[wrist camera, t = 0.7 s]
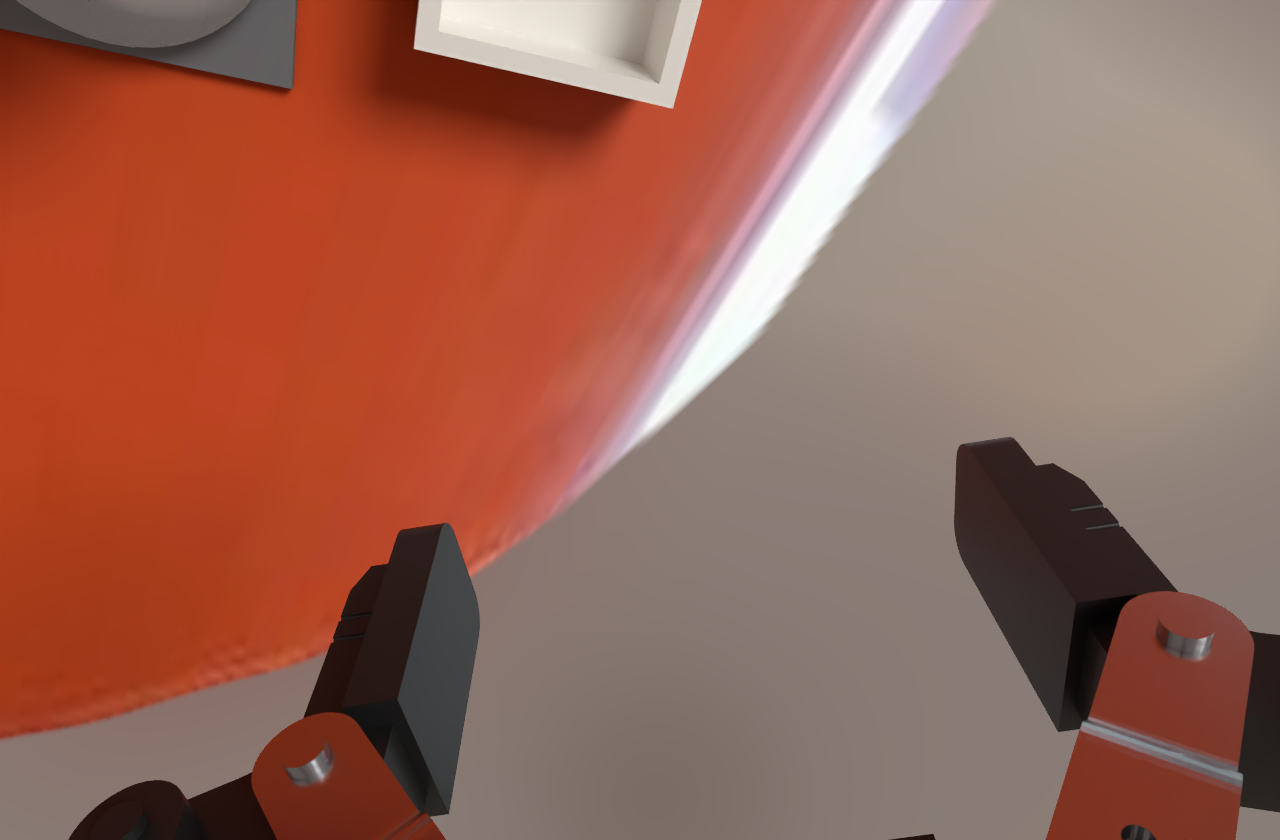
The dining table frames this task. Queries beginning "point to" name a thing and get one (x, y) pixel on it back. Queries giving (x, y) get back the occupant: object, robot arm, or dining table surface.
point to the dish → (569, 40)
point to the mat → (199, 42)
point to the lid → (139, 19)
